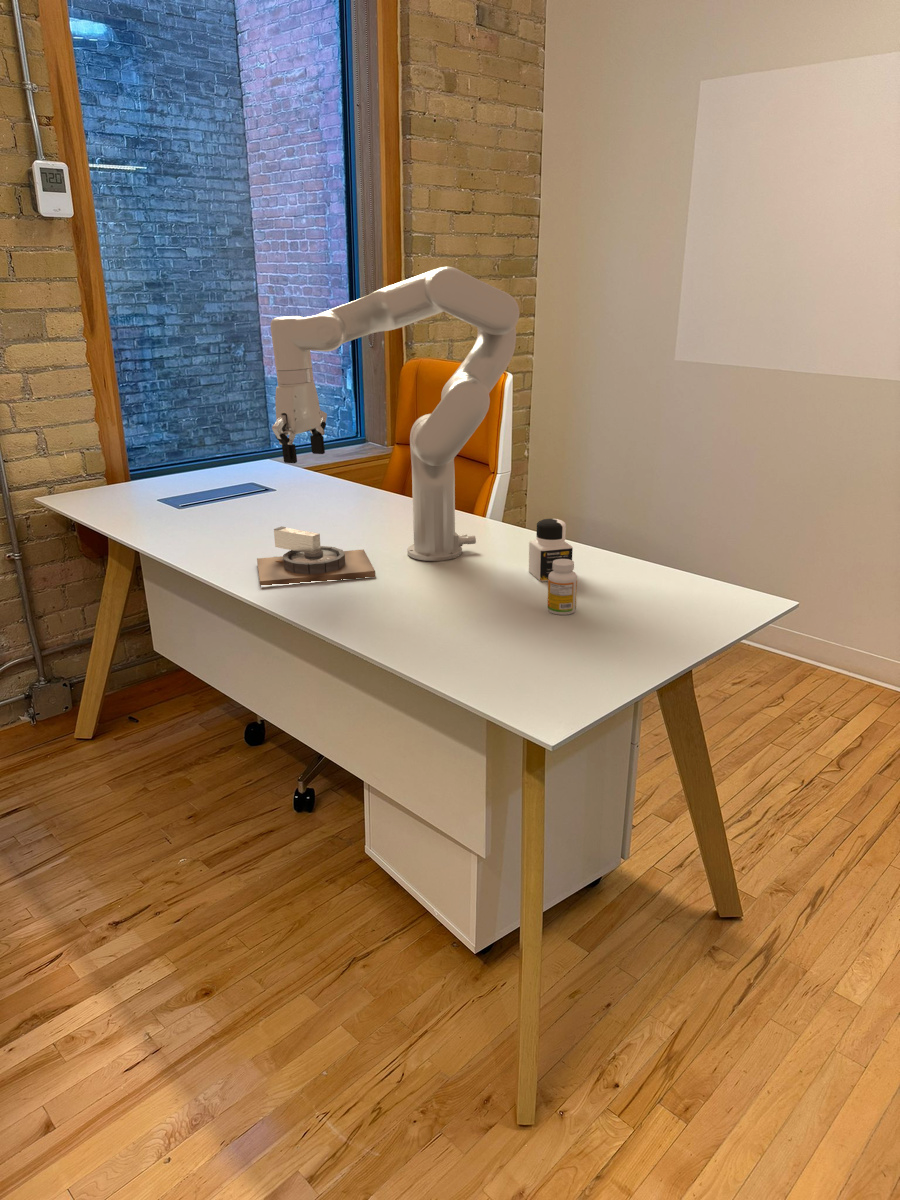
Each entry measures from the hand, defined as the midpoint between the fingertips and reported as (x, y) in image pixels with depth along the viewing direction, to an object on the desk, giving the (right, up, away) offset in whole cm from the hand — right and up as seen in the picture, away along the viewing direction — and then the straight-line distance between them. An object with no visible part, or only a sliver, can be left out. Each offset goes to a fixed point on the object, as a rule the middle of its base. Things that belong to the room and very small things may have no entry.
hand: (304, 458), depth 187 cm
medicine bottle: (+53, -26, -5) cm, 59 cm away
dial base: (+2, -25, 0) cm, 25 cm away
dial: (0, -23, +1) cm, 23 cm away
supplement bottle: (+53, -33, -24) cm, 67 cm away
